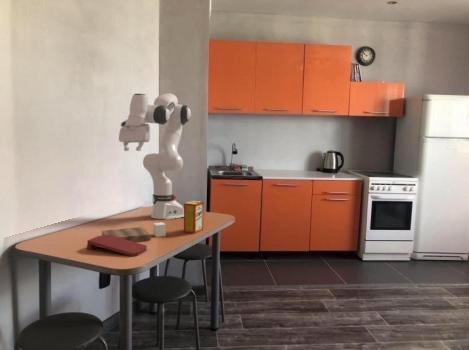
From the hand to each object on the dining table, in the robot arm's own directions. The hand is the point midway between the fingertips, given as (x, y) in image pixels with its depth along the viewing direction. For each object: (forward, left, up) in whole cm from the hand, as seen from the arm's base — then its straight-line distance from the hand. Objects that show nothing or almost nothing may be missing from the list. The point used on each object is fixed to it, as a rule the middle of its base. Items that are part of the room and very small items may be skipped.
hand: (132, 150), depth 206 cm
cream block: (-12, +8, -43) cm, 45 cm away
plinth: (+5, +8, -43) cm, 44 cm away
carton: (+13, +26, -43) cm, 52 cm away
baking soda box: (-31, +7, -43) cm, 54 cm away
